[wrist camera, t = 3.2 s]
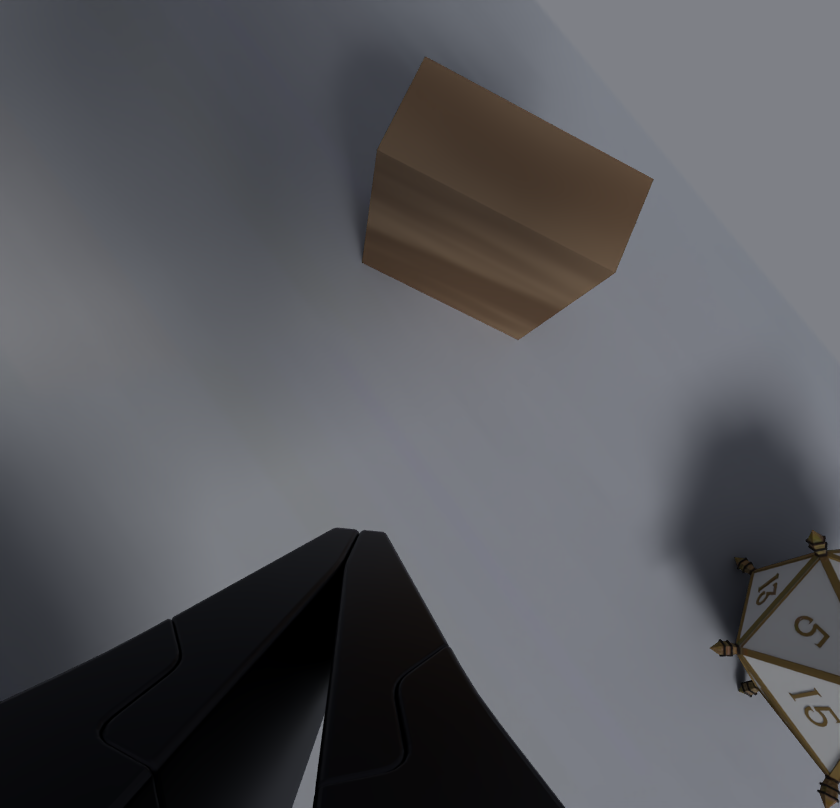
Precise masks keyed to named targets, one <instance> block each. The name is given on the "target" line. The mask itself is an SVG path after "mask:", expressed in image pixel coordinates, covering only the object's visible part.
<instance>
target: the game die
mask: <svg viewBox="0 0 840 808" xmlns="http://www.w3.org/2000/svg"><path fill="white" fill-rule="evenodd" d="M825 539H826V537H825V536H822V535H820V534H818V533H817V532H815V531H814V530H812V532H811V534H810V536H809V538H808V539H806V542H808V543H809V546H808V547H809V548H810V549H812V550H813V551H814V553H810V554H807V555H803V556H800V557H796V558H793V559H790V560H786V561H783V562H779V563H776V564H772V565H769V566H765V567H762V568H759V569H756V568H754V567H753V564H752V562H749V561H748V560H747V558H737V557H734V558H735V561H736V564H737V569H741V570H742V572H743V573H748V574H749V575H750V581H749V585H748V590H747V594H746V599H745V603H744V608H743V612H742V617H741V621H740V626H739V630H738V635H737V639H736V643H735V644H733V643H730V642H729V641H728V640H726V641H722V640H721V639H719V641H718V642H717V643H716V644H715V645H713V646H712V647H710V649H712V650H713V651H715V652H716V653H718V654H719V655H720V656H733V655H734V654H736V655H737V656H738V657H739V659H740V661H741V662H742V664H743V666H744V668H745V669H746V671H747V673H748V674H749V676H750V678H751V679H752V680H750V681H746V682H742V683H741V687H740V689H739V692H742V693H744V694H747V695H748V696H750V697H752V695H753V694H754V695H757V692H758V691H759V692H760V693H761V694H762V695H763V697H764V698H765V699H766V700H767V702H768V703H769V704H770V705H771V707H772V708H773V709H774V711H775V712H776V713H777V714H778V716H779V717H780V718H781V719H782V721H783V722H784V723H785V725H786V726H787V727H788V728H789V730H790V731H791V732H792V733H793V735H794V736H795V737H796V739H797V740H798V741H799V742H800V744H801V745H802V746H803V747H804V749H805V750H806V751H807V752H808V754H809V755H810V756H811V758H812V759H813V760H814V761H815V763H816V764H817V765H818V766H819V768H820V769H821V770H822V772H823V773H824V774H825V779H824V781H823V782H822V783H821V782H820V785H821V788H820V790H817V792H819V793H820V796H821V798H822V801H823V804H824V806H825V808H829V807H831V806H832V805H833V804H835V803H836V802H838V803H839V800H838V794H839V795H840V791H839V790H838V784H839V782H840V549H836V550H827V542H825Z"/></svg>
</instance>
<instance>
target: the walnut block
mask: <svg viewBox="0 0 840 808" xmlns="http://www.w3.org/2000/svg"><path fill="white" fill-rule="evenodd" d="M653 180H654V179H652V178H650V177H648V176H647V175H645V174H643V173H641V172H639V171H637V170H635V169H634V168H632V167H630V166H628V165H626V164H624V163H622V162H621V161H619V160H617V159H615V158H613V157H611V156H609V155H608V154H606V153H604V152H602V151H600V150H598V149H596V148H595V147H593V146H591V145H589V144H587V143H585V142H583V141H582V140H580V139H578V138H576V137H574V136H572V135H570V134H569V133H567V132H565V131H563V130H561V129H559V128H557V127H556V126H554V125H552V124H550V123H548V122H546V121H544V120H543V119H541V118H539V117H537V116H535V115H533V114H531V113H530V112H528V111H526V110H524V109H522V108H520V107H518V106H517V105H515V104H513V103H511V102H509V101H507V100H505V99H504V98H502V97H500V96H498V95H496V94H494V93H492V92H490V91H489V90H487V89H485V88H483V87H481V86H479V85H477V84H476V83H474V82H472V81H470V80H468V79H466V78H464V77H463V76H461V75H459V74H457V73H455V72H453V71H451V70H450V69H448V68H446V67H444V66H442V65H440V64H438V63H437V62H435V61H433V60H431V59H429V58H427V57H425V58H424V60H423V62H422V63H421V65H420V67H419V69H418V71H417V73H416V75H415V77H414V79H413V81H412V83H411V85H410V87H409V89H408V91H407V93H406V95H405V96H404V98H403V100H402V102H401V104H400V106H399V108H398V110H397V112H396V114H395V116H394V118H393V120H392V122H391V124H390V126H389V128H388V130H387V131H386V133H385V135H384V137H383V139H382V141H381V143H380V145H379V147H378V149H377V154H376V162H375V169H374V177H373V184H372V192H371V199H370V207H369V214H368V222H367V229H366V237H365V244H364V251H363V259H362V263H364V264H366V265H368V266H370V267H372V268H374V269H376V270H378V271H380V272H382V273H384V274H386V275H388V276H390V277H392V278H394V279H396V280H398V281H400V282H402V283H404V284H406V285H408V286H410V287H412V288H414V289H416V290H418V291H420V292H422V293H424V294H426V295H428V296H430V297H432V298H434V299H437V300H439V301H441V302H443V303H445V304H447V305H449V306H451V307H453V308H455V309H457V310H459V311H461V312H463V313H465V314H467V315H469V316H471V317H473V318H475V319H477V320H479V321H481V322H483V323H485V324H487V325H489V326H491V327H493V328H495V329H497V330H499V331H501V332H503V333H505V334H507V335H509V336H511V337H513V338H515V339H517V340H519V339H520V338H522V337H523V336H525V335H526V334H528V333H529V332H530V331H532V330H533V329H535V328H536V327H538V326H539V325H541V324H542V323H543V322H545V321H546V320H548V319H549V318H551V317H552V316H554V315H555V314H556V313H558V312H559V311H561V310H562V309H564V308H565V307H567V306H568V305H569V304H571V303H572V302H574V301H575V300H577V299H578V298H580V297H581V296H582V295H584V294H585V293H587V292H588V291H590V290H591V289H593V288H594V287H595V286H597V285H598V284H600V283H601V282H603V281H604V280H606V279H607V278H608V277H610V276H611V275H613V274H614V273H615V272H616V270H617V267H618V265H619V262H620V260H621V258H622V255H623V253H624V250H625V248H626V245H627V243H628V240H629V238H630V236H631V233H632V231H633V228H634V226H635V223H636V221H637V219H638V216H639V214H640V211H641V209H642V206H643V204H644V202H645V199H646V197H647V194H648V192H649V189H650V187H651V184H652V182H653Z"/></svg>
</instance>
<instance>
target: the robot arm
mask: <svg viewBox="0 0 840 808" xmlns="http://www.w3.org/2000/svg"><path fill="white" fill-rule="evenodd" d="M324 714H325V716H324ZM323 717H324V724H323V732H322V740H321V748H320V755H319V763H318V771H317V779H316V787H315V795H314V802H313V808H565V807H564V805H563V804H562V803H561V802H560V800H559V799H558V798H557V796H556V795H555V794H554V793H553V791H552V790H551V789H550V787H549V786H548V785H547V784H546V782H545V781H544V780H543V778H542V777H541V776H540V775H539V773H538V772H537V771H536V769H535V768H534V767H533V765H532V764H531V763H530V762H529V760H528V759H527V758H526V756H525V755H524V754H523V753H522V751H521V750H520V749H519V747H518V746H517V745H516V744H515V742H514V741H513V740H512V738H511V737H510V736H509V735H508V733H507V732H506V731H505V729H504V728H503V727H502V726H501V724H500V723H499V721H498V720H497V719H496V717H495V716H494V715H493V713H492V712H491V711H490V709H489V708H488V706H487V705H486V704H485V702H484V701H483V700H482V698H481V697H480V695H479V694H478V693H477V691H476V689H475V688H474V686H473V685H472V683H471V681H470V680H469V678H468V676H467V675H466V673H465V672H464V670H463V668H462V667H461V665H460V663H459V661H458V660H457V658H456V656H455V654H454V653H453V651H452V649H451V648H450V647H449V645H448V643H447V642H446V640H445V638H444V636H443V634H442V633H441V631H440V629H439V627H438V626H437V624H436V622H435V620H434V618H433V617H432V615H431V613H430V611H429V609H428V608H427V606H426V604H425V602H424V601H423V599H422V597H421V595H420V593H419V592H418V590H417V588H416V586H415V584H414V583H413V581H412V579H411V577H410V576H409V574H408V572H407V570H406V568H405V567H404V565H403V563H402V561H401V559H400V558H399V556H398V554H397V552H396V551H395V549H394V547H393V545H392V543H391V542H390V540H389V538H388V536H387V535H386V533H384V532H378V531H367V530H363V531H361V532H360V533H359V532H358V531H357V530H355V529H346V528H334V529H331V530H330V531H328V532H326V533H324V534H322V535H321V536H319V537H317V538H315V539H313V540H312V541H310V542H308V543H306V544H304V545H303V546H301V547H299V548H297V549H295V550H293V551H292V552H290V553H288V554H286V555H284V556H283V557H281V558H279V559H277V560H275V561H274V562H272V563H270V564H268V565H266V566H265V567H263V568H261V569H259V570H257V571H256V572H254V573H252V574H250V575H248V576H247V577H245V578H243V579H241V580H239V581H237V582H236V583H234V584H232V585H230V586H228V587H227V588H225V589H223V590H221V591H219V592H218V593H216V594H214V595H212V596H210V597H209V598H207V599H205V600H203V601H201V602H200V603H198V604H196V605H194V606H192V607H190V608H189V609H187V610H185V611H183V612H181V613H180V614H178V615H176V616H174V617H173V618H172V620H170V619H167V620H165V621H163V622H161V623H160V624H158V625H156V626H154V627H152V628H151V629H149V630H147V631H145V632H143V633H141V634H139V635H138V636H136V637H134V638H132V639H130V640H128V641H126V642H124V643H122V644H120V645H118V646H117V647H115V648H113V649H111V650H109V651H107V652H105V653H103V654H101V655H99V656H97V657H95V658H93V659H91V660H89V661H87V662H85V663H82V664H80V665H78V666H76V667H74V668H72V669H70V670H68V671H66V672H64V673H62V674H60V675H57V676H55V677H53V678H51V679H49V680H47V681H45V682H42V683H40V684H38V685H36V686H34V687H32V688H29V689H27V690H25V691H23V692H21V693H19V694H16V695H14V696H12V697H10V698H8V699H6V700H3V701H1V702H0V808H292V806H293V803H294V800H295V797H296V795H297V792H298V789H299V786H300V783H301V780H302V777H303V774H304V772H305V769H306V766H307V763H308V760H309V757H310V754H311V751H312V749H313V746H314V743H315V740H316V737H317V734H318V731H319V728H320V726H321V723H322V720H323Z"/></svg>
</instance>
